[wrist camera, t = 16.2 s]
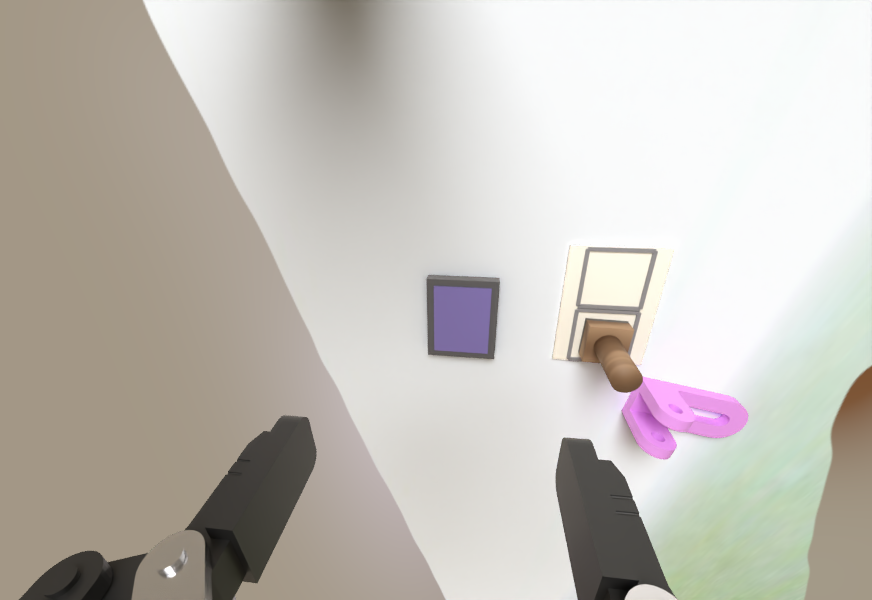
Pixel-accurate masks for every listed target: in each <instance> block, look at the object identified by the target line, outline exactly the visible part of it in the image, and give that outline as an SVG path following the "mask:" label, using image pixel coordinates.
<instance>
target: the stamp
mask: <svg viewBox="0 0 872 600" xmlns="http://www.w3.org/2000/svg"><path fill="white" fill-rule="evenodd" d="M633 333H634V329H633V328H632V326H631V325H630V324H629V322H628V321H619V320H606V319H592V318H585V323H584V327H583V332H582V336H581V341H580V345H579V350H578V353H579V355H580V358H581V360H582V362H593V363H601V365H602V367H603V369H604V371H605V373H606V375H607V377H608V379H609V381H610V383H611V386H612V387H613V388H614V389H615V390H616V391H619V392H623V393H627V392H632V391H634V390H636V389H638V388H639V387H640V386H641V384H642V382H643V377H642V374H641V373H640V371H639V370H638V368H637V367H636V365H635V363H634V362H633V360H632V359H631V357H630V356H629V354H628V350H629V347H630V343H631V340H632V337H633Z"/></svg>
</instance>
